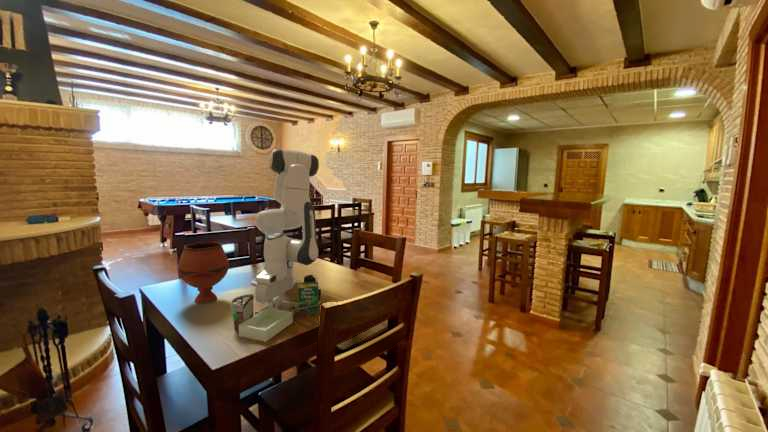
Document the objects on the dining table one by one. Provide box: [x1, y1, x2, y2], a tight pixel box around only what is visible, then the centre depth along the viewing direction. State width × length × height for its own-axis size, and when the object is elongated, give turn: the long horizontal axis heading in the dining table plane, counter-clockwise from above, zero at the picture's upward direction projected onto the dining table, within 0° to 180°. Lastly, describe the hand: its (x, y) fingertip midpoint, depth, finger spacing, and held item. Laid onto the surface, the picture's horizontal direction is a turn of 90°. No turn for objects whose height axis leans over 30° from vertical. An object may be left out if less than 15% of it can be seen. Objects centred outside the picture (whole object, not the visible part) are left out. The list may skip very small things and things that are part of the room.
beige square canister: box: [303, 274, 322, 305], centre depth 139 cm, size 7×7×12 cm
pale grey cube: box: [281, 303, 293, 312], centre depth 128 cm, size 4×4×4 cm
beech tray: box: [254, 300, 299, 316], centre depth 129 cm, size 14×14×2 cm
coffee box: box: [297, 281, 320, 316], centre depth 126 cm, size 8×3×13 cm, turn 94°
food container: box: [229, 293, 255, 332], centre depth 115 cm, size 12×6×10 cm, turn 5°
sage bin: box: [238, 308, 294, 343], centre depth 113 cm, size 11×16×4 cm
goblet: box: [177, 241, 230, 305], centre depth 137 cm, size 19×19×25 cm
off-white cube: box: [273, 296, 284, 310], centre depth 129 cm, size 4×4×5 cm
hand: (276, 305), depth 129 cm, fingers closed on off-white cube, 4 cm apart
